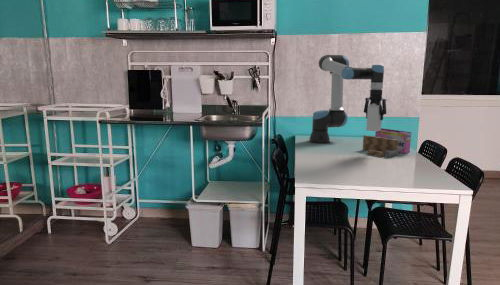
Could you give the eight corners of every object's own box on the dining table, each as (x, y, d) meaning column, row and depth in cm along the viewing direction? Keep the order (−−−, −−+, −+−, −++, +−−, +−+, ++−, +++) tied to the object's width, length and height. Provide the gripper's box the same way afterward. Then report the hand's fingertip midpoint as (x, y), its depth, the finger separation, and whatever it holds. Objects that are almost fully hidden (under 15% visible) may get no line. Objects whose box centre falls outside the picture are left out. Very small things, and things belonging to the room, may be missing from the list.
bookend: (384, 157, 248) (385, 151, 248) (392, 154, 256) (393, 148, 255) (388, 157, 247) (389, 151, 246) (396, 155, 254) (396, 149, 253)
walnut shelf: (354, 151, 263) (355, 137, 261) (363, 149, 271) (364, 135, 269) (387, 158, 246) (389, 142, 244) (397, 155, 254) (398, 140, 253)
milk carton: (370, 129, 262) (372, 101, 258) (380, 130, 257) (383, 101, 254) (366, 130, 256) (368, 101, 253) (376, 131, 252) (378, 102, 248)
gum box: (372, 147, 278) (373, 128, 275) (378, 146, 283) (379, 127, 280) (404, 153, 260) (406, 133, 257) (410, 151, 265) (411, 132, 263)
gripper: (359, 88, 257) (357, 123, 261) (388, 90, 242) (385, 126, 246) (365, 88, 262) (363, 122, 266) (394, 89, 247) (391, 125, 251)
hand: (374, 124), depth 256 cm, fingers closed on milk carton, 7 cm apart
